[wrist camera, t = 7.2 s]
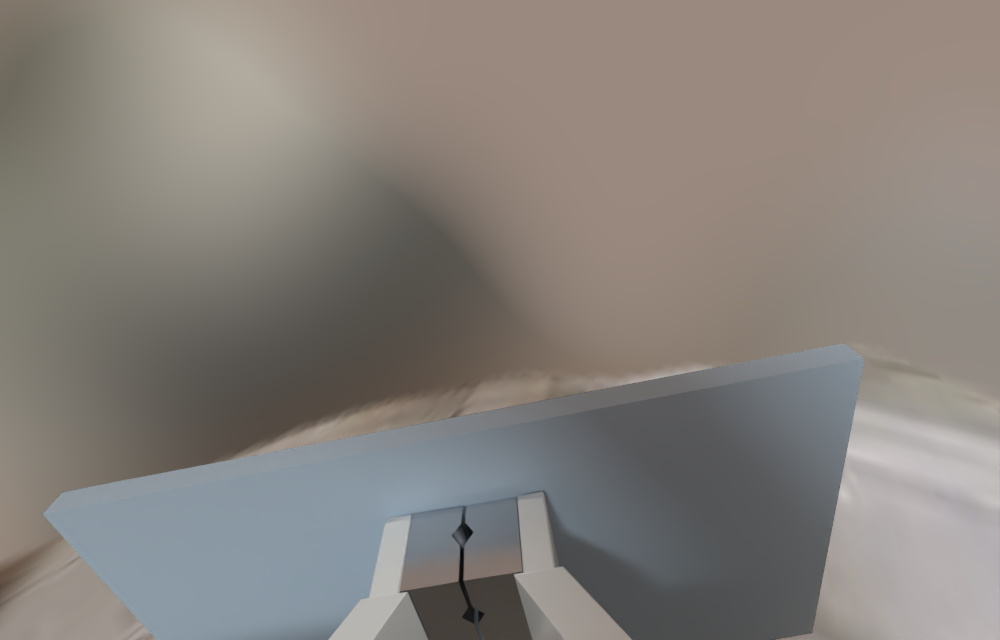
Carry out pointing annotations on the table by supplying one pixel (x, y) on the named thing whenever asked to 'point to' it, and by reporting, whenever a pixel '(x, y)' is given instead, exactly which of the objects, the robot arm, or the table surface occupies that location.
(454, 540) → the robot arm
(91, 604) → the table surface
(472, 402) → the table surface
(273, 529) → the flap
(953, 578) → the table surface
